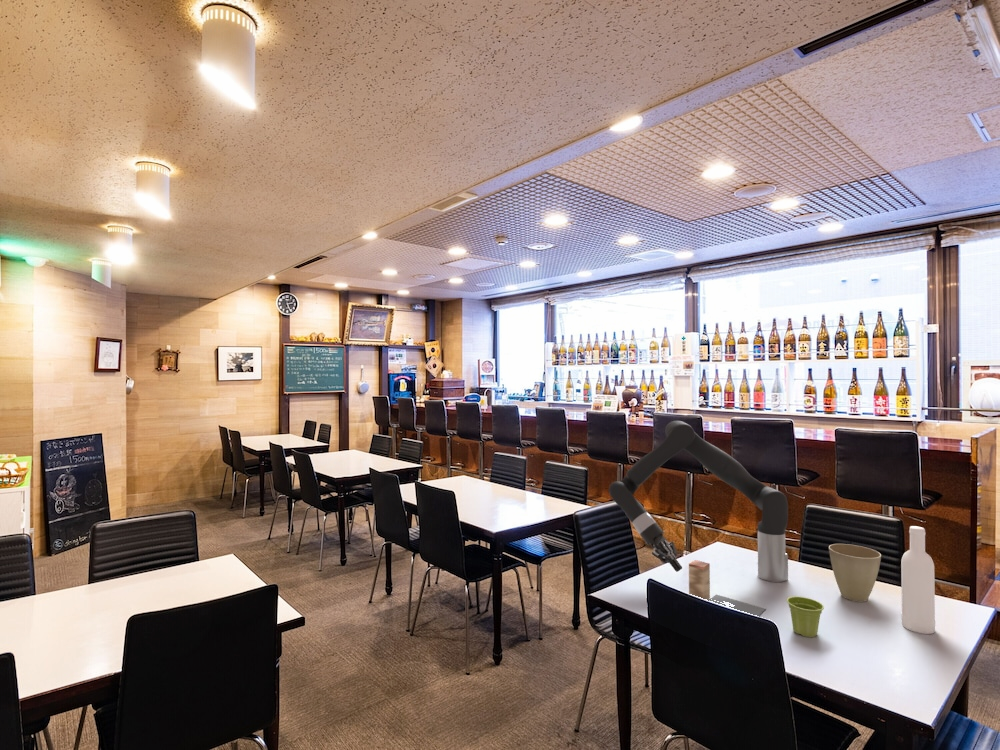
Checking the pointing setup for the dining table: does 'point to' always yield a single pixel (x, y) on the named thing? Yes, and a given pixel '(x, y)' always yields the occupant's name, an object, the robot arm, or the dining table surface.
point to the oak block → (699, 579)
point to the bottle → (918, 585)
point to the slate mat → (739, 605)
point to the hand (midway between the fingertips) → (679, 570)
